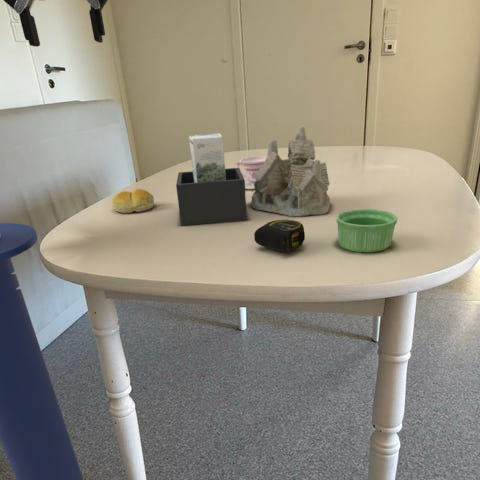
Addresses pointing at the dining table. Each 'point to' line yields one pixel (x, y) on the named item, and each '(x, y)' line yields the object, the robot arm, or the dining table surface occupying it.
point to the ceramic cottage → (292, 180)
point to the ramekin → (365, 229)
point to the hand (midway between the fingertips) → (67, 43)
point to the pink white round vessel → (251, 169)
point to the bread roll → (133, 201)
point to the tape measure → (280, 235)
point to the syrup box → (207, 157)
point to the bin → (211, 198)
